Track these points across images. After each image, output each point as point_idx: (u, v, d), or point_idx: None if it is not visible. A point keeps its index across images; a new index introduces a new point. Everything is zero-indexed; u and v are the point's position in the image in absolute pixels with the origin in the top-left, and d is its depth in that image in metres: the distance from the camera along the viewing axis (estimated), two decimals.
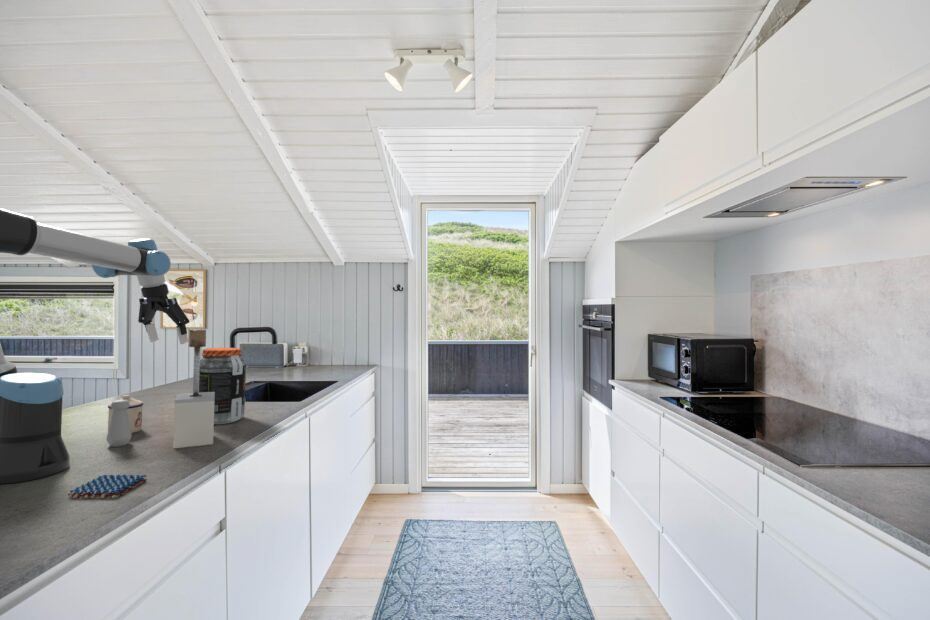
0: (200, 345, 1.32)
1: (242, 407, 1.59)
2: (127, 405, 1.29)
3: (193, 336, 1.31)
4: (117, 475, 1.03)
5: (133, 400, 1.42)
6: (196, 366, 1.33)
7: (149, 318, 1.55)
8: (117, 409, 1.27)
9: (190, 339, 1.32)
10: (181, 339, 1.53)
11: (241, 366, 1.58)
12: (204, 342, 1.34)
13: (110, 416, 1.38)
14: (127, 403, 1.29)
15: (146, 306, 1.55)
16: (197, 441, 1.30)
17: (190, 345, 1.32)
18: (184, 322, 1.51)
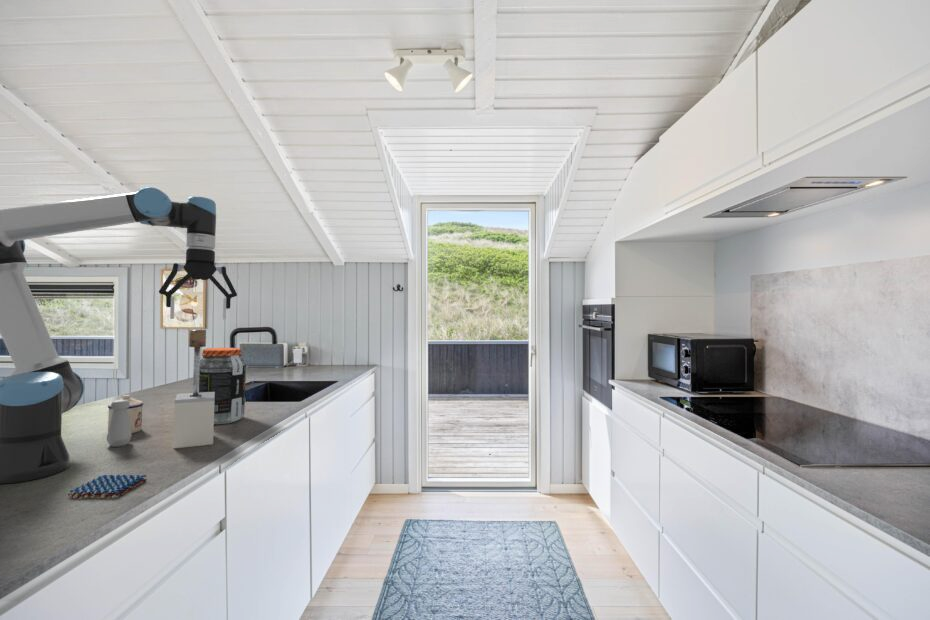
0: (200, 345, 1.32)
1: (242, 407, 1.59)
2: (127, 405, 1.29)
3: (193, 336, 1.31)
4: (117, 475, 1.03)
5: (133, 400, 1.42)
6: (196, 366, 1.33)
7: None
8: (117, 409, 1.27)
9: (190, 339, 1.32)
10: None
11: (241, 365, 1.58)
12: (204, 342, 1.34)
13: (110, 416, 1.38)
14: (127, 403, 1.29)
15: (223, 277, 1.37)
16: (197, 441, 1.30)
17: (190, 345, 1.32)
18: None
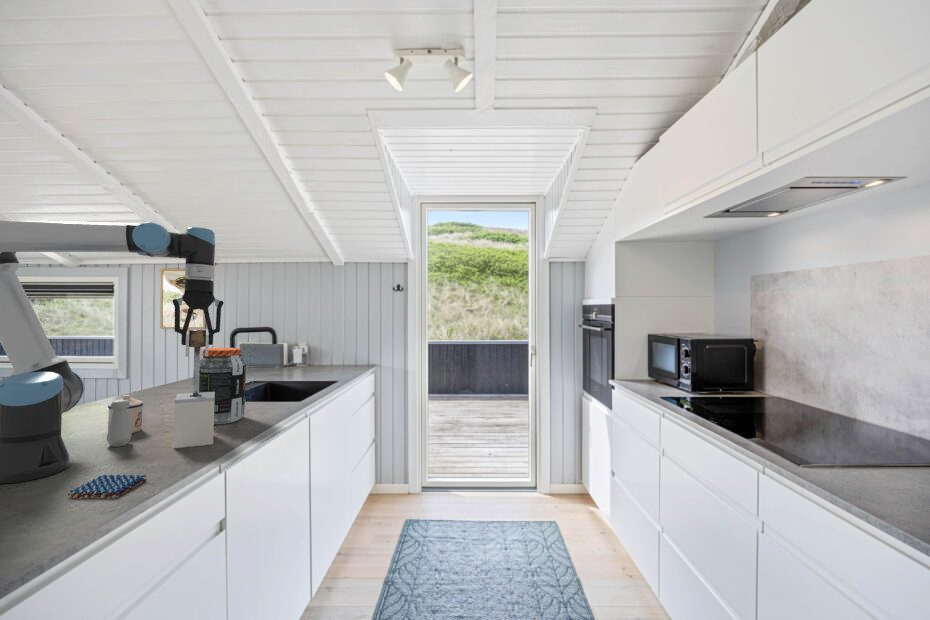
0: (200, 345, 1.32)
1: (242, 407, 1.59)
2: (127, 405, 1.29)
3: (193, 336, 1.31)
4: (117, 475, 1.03)
5: (133, 400, 1.42)
6: (196, 366, 1.33)
7: None
8: (117, 409, 1.27)
9: (190, 339, 1.32)
10: None
11: (241, 365, 1.58)
12: (204, 342, 1.34)
13: (110, 416, 1.38)
14: (127, 403, 1.29)
15: None
16: (197, 441, 1.30)
17: (190, 345, 1.32)
18: None
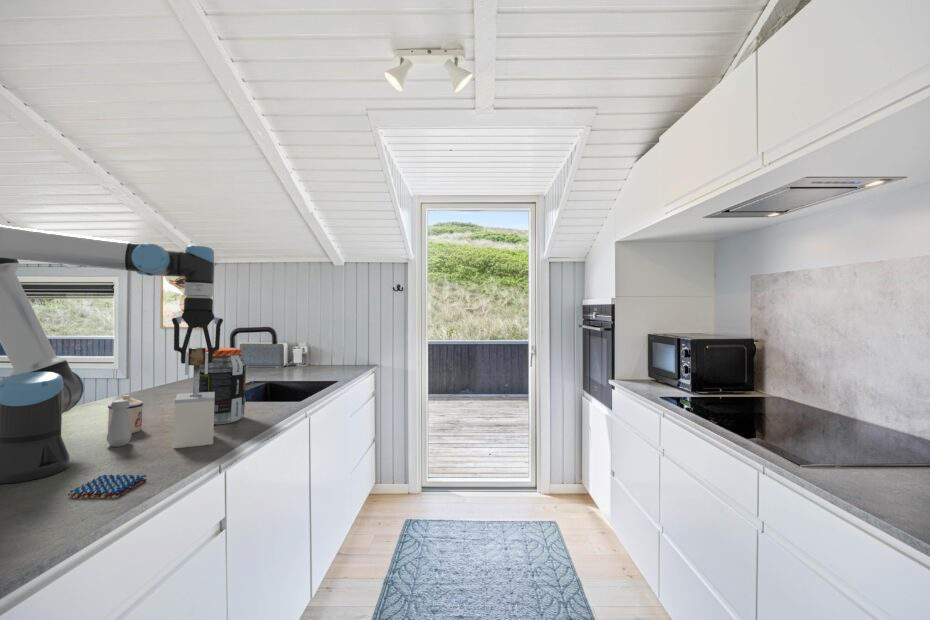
0: (199, 363, 1.32)
1: (242, 407, 1.59)
2: (127, 405, 1.29)
3: (192, 355, 1.31)
4: (117, 475, 1.03)
5: (133, 400, 1.42)
6: (195, 384, 1.33)
7: None
8: (117, 409, 1.27)
9: (189, 358, 1.32)
10: None
11: (241, 366, 1.58)
12: (203, 360, 1.34)
13: (110, 416, 1.38)
14: (127, 403, 1.29)
15: None
16: (197, 441, 1.30)
17: (189, 363, 1.32)
18: None
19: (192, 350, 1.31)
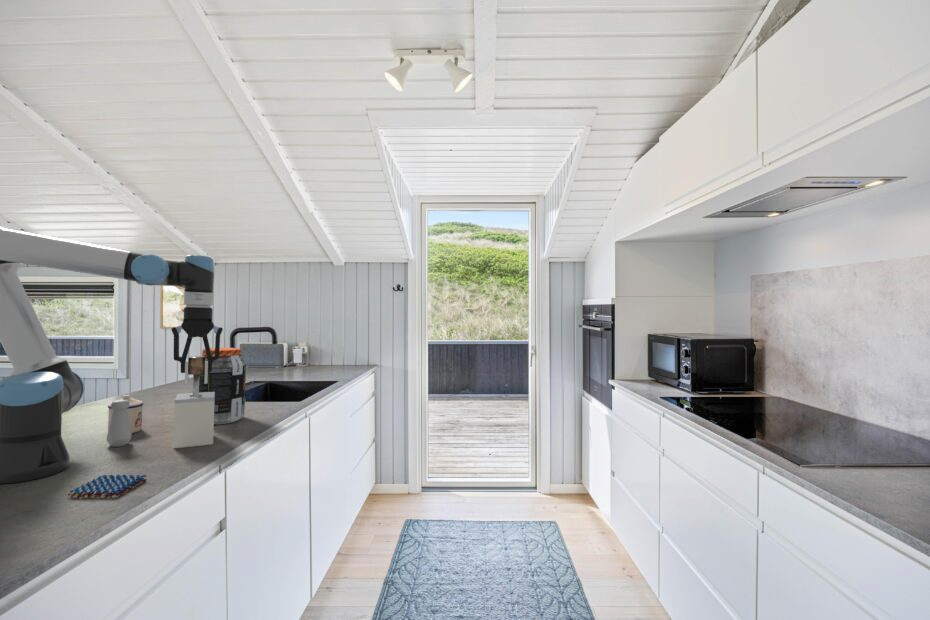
0: (199, 372, 1.32)
1: (242, 407, 1.59)
2: (127, 405, 1.29)
3: (192, 364, 1.31)
4: (117, 475, 1.03)
5: (133, 400, 1.42)
6: (195, 393, 1.33)
7: None
8: (117, 409, 1.27)
9: (189, 367, 1.32)
10: None
11: (241, 365, 1.58)
12: (203, 369, 1.34)
13: (110, 416, 1.38)
14: (127, 403, 1.29)
15: None
16: (197, 441, 1.30)
17: (189, 373, 1.32)
18: None
19: (192, 359, 1.31)
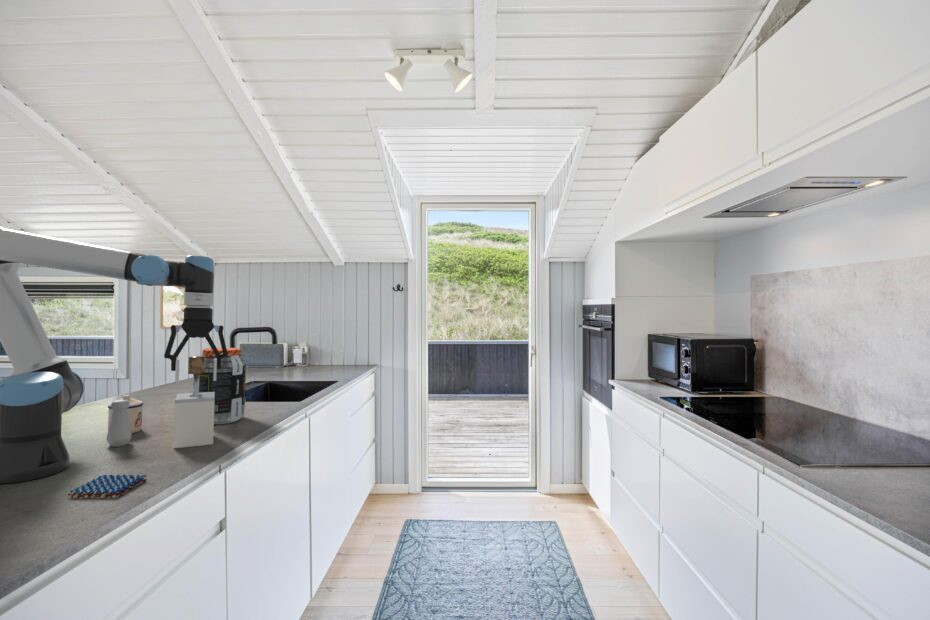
0: (199, 372, 1.32)
1: (242, 407, 1.59)
2: (127, 405, 1.29)
3: (192, 363, 1.31)
4: (117, 475, 1.03)
5: (133, 400, 1.42)
6: (195, 393, 1.33)
7: None
8: (117, 409, 1.27)
9: (189, 366, 1.32)
10: None
11: (241, 366, 1.58)
12: (203, 369, 1.34)
13: (110, 416, 1.38)
14: (127, 403, 1.29)
15: None
16: (197, 441, 1.30)
17: (189, 372, 1.32)
18: None
19: (192, 359, 1.31)
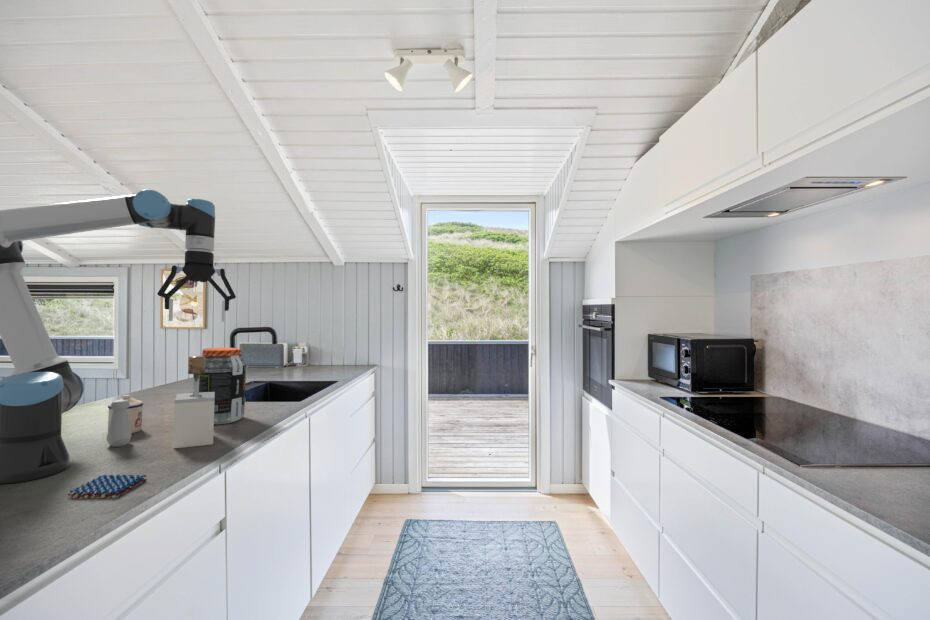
0: (199, 372, 1.32)
1: (242, 407, 1.59)
2: (127, 405, 1.29)
3: (192, 363, 1.31)
4: (117, 475, 1.03)
5: (133, 400, 1.42)
6: (195, 393, 1.33)
7: None
8: (117, 409, 1.27)
9: (189, 366, 1.32)
10: None
11: (241, 366, 1.58)
12: (203, 369, 1.34)
13: (110, 416, 1.38)
14: (127, 403, 1.29)
15: (222, 279, 1.36)
16: (197, 441, 1.30)
17: (189, 372, 1.32)
18: None
19: (192, 359, 1.31)
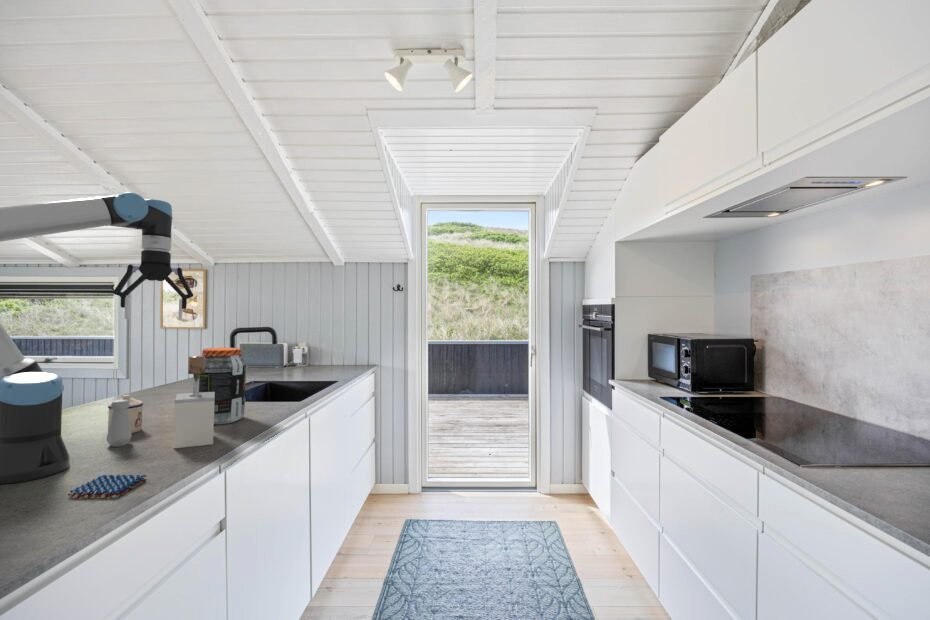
0: (199, 372, 1.32)
1: (242, 407, 1.59)
2: (127, 405, 1.29)
3: (192, 363, 1.31)
4: (117, 475, 1.03)
5: (133, 400, 1.42)
6: (195, 393, 1.33)
7: None
8: (117, 409, 1.27)
9: (189, 366, 1.32)
10: None
11: (241, 366, 1.58)
12: (203, 369, 1.34)
13: (110, 416, 1.38)
14: (127, 403, 1.29)
15: (179, 278, 1.39)
16: (197, 441, 1.30)
17: (189, 372, 1.32)
18: None
19: (192, 359, 1.31)
